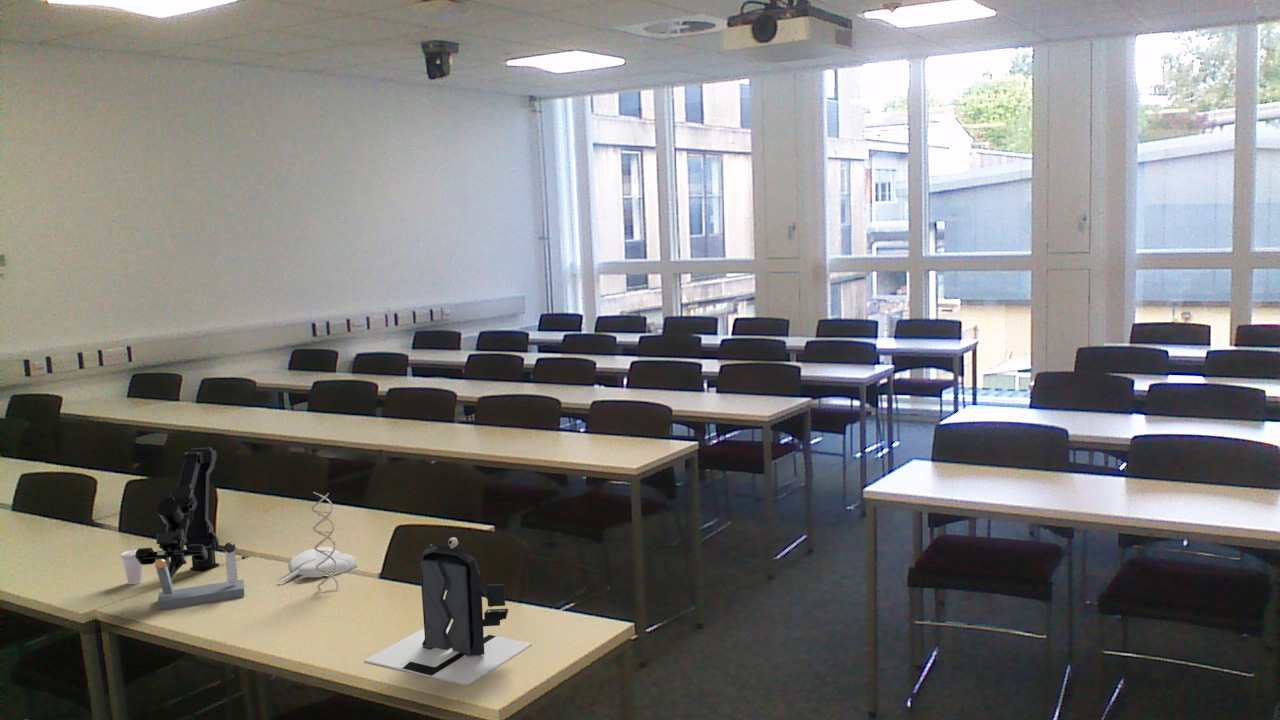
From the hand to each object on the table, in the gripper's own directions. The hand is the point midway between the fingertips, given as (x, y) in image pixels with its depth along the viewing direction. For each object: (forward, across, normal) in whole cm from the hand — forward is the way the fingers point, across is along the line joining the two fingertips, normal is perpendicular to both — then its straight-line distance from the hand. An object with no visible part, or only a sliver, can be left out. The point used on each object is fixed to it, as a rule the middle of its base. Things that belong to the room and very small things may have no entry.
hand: (167, 580), depth 280 cm
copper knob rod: (+3, 0, +4) cm, 5 cm away
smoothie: (-11, -18, +22) cm, 30 cm away
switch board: (+3, +8, +7) cm, 11 cm away
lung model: (-8, +37, +19) cm, 42 cm away
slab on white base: (+43, +83, -33) cm, 99 cm away
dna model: (+4, +45, +6) cm, 45 cm away
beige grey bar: (0, +16, +7) cm, 18 cm away
